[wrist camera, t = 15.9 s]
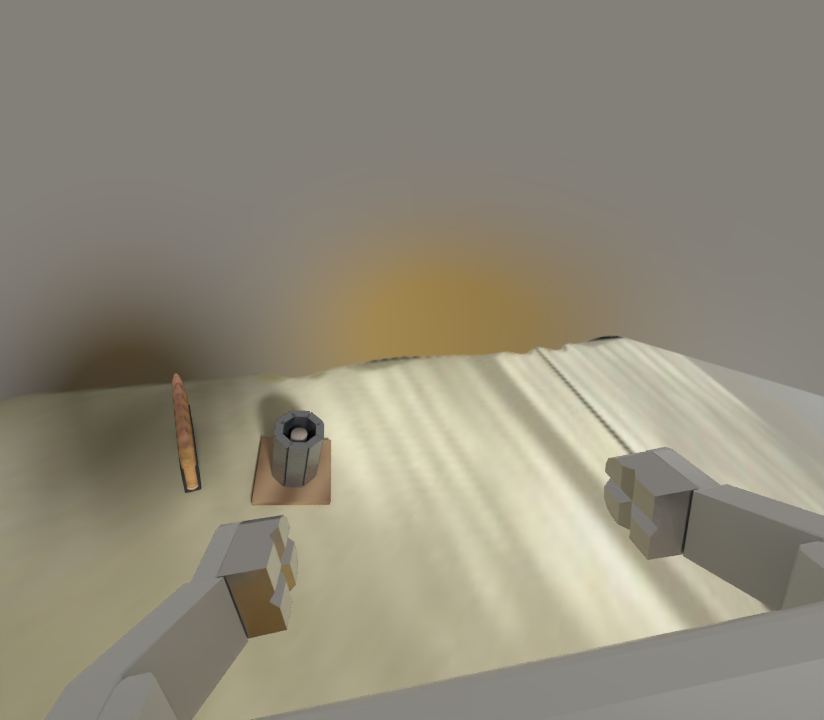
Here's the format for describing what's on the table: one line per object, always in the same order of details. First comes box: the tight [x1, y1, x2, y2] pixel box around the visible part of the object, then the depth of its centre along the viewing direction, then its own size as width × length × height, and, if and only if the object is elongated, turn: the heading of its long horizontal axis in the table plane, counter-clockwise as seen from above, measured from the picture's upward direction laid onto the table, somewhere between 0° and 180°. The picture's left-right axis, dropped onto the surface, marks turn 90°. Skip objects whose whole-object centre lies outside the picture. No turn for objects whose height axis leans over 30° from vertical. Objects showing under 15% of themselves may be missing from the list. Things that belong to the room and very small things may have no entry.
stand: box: [252, 427, 331, 505], centre depth 53 cm, size 10×10×9 cm
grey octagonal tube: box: [272, 410, 324, 488], centre depth 53 cm, size 6×6×9 cm
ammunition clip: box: [172, 373, 201, 493], centre depth 50 cm, size 11×2×12 cm, turn 26°
